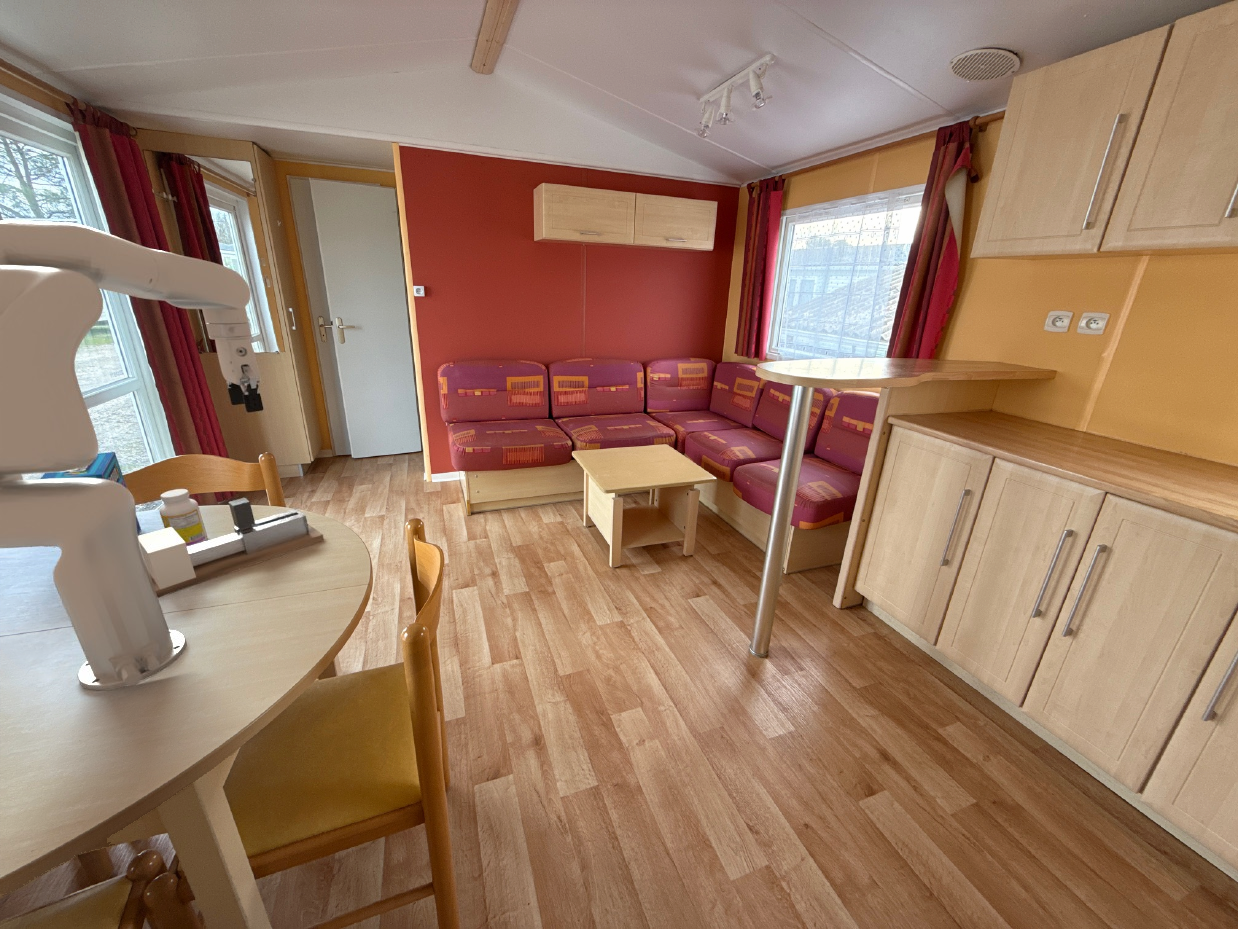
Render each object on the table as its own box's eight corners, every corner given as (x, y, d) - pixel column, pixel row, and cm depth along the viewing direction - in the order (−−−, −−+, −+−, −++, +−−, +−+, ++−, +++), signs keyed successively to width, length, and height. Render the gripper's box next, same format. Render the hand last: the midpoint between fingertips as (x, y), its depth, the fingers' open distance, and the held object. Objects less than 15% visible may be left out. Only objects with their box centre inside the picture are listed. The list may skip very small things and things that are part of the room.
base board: (323, 540, 117) (322, 534, 117) (155, 598, 94) (153, 591, 94) (306, 527, 123) (305, 521, 122) (143, 579, 100) (141, 572, 100)
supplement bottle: (176, 539, 115) (160, 489, 111) (211, 534, 118) (197, 485, 114) (166, 553, 110) (149, 500, 105) (203, 547, 112) (188, 496, 108)
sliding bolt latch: (268, 542, 111) (258, 499, 107) (171, 573, 98) (155, 526, 94) (262, 537, 113) (252, 495, 109) (166, 567, 100) (151, 521, 96)
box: (88, 539, 114) (57, 458, 107) (141, 529, 119) (114, 451, 112) (72, 571, 102) (36, 483, 95) (132, 559, 107) (101, 474, 100)
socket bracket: (196, 577, 99) (185, 542, 96) (160, 589, 95) (148, 553, 92) (182, 560, 104) (171, 526, 102) (147, 570, 100) (135, 536, 98)
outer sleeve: (309, 534, 116) (305, 515, 115) (247, 555, 107) (242, 534, 105) (299, 527, 120) (295, 508, 118) (238, 546, 110) (233, 526, 109)
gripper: (264, 333, 105) (280, 411, 111) (236, 327, 115) (252, 399, 121) (221, 335, 99) (241, 417, 105) (196, 328, 109) (215, 404, 115)
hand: (247, 407), depth 113 cm, fingers open, 9 cm apart
